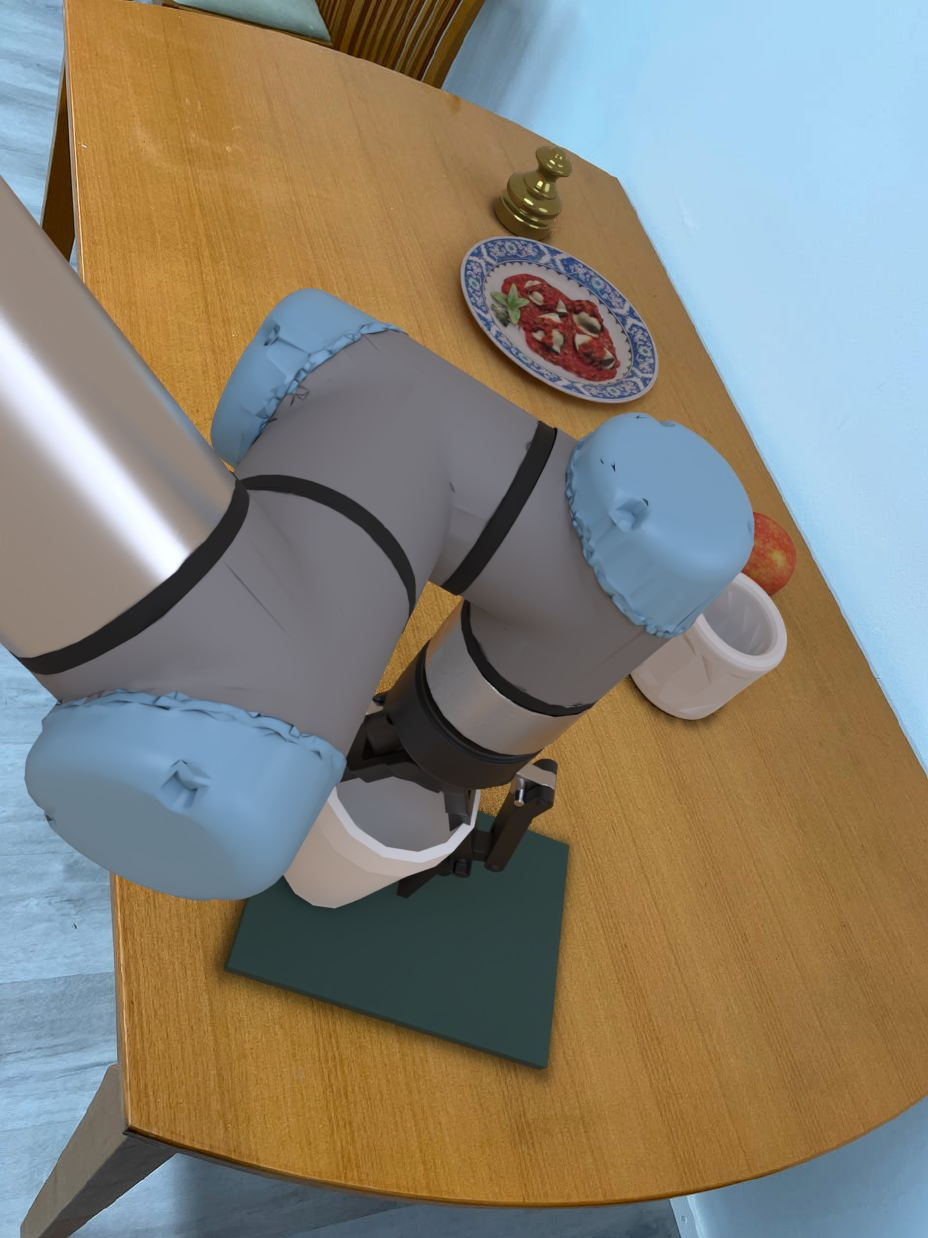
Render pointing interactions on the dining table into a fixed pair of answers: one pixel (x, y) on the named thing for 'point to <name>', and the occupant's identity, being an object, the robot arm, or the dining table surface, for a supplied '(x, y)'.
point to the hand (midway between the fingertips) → (335, 852)
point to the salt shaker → (534, 195)
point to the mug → (716, 653)
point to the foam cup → (372, 840)
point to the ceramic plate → (559, 319)
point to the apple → (770, 555)
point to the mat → (427, 951)
